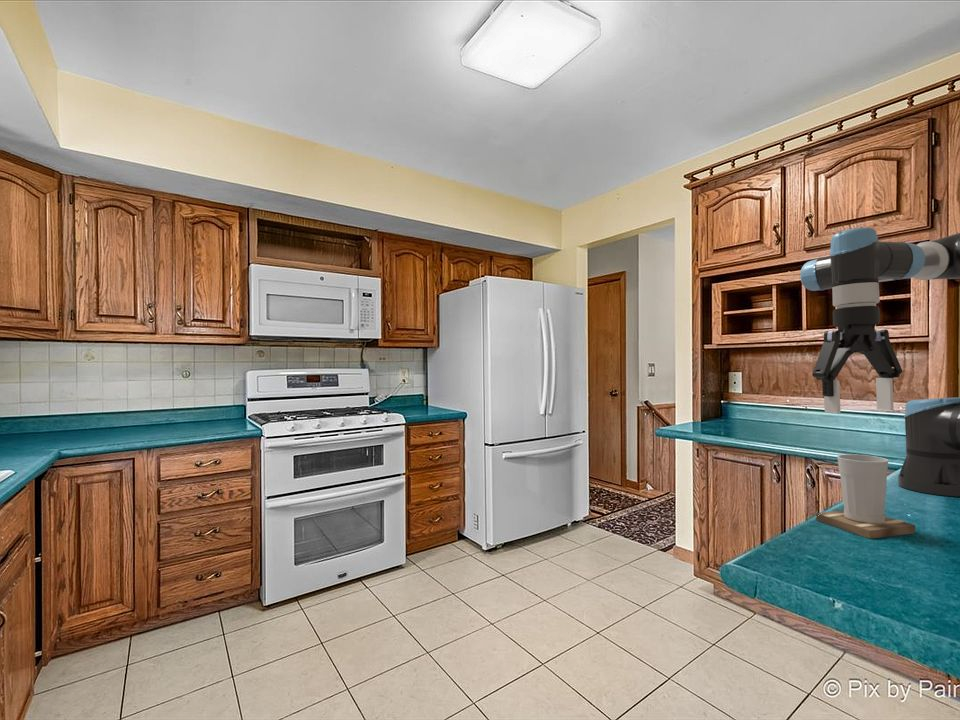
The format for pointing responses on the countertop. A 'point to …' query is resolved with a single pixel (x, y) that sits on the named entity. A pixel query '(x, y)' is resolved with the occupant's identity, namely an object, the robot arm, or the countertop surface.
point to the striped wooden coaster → (866, 525)
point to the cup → (863, 487)
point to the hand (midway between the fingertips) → (859, 411)
